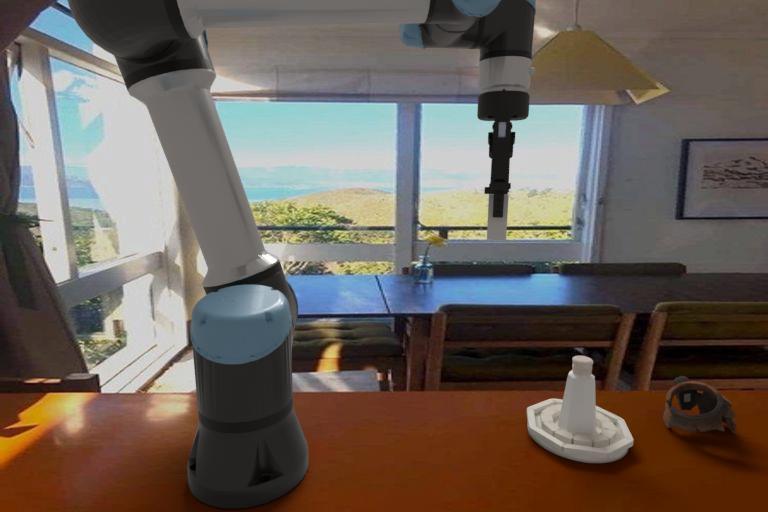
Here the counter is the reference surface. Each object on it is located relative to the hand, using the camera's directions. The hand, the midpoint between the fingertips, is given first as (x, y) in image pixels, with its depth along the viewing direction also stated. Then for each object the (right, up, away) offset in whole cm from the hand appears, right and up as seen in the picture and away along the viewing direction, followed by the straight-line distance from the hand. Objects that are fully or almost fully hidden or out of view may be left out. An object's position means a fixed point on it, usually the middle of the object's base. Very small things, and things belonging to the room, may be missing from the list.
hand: (496, 233), depth 74 cm
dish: (+11, -30, -4) cm, 32 cm away
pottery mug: (+30, -30, -1) cm, 43 cm away
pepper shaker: (+11, -29, -4) cm, 32 cm away
